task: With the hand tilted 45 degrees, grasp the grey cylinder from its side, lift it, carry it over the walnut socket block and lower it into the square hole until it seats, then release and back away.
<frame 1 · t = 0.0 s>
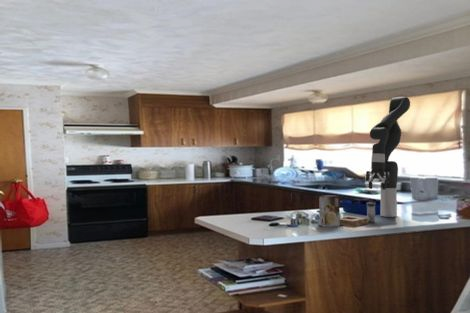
hand: (377, 189, 268), 17 cm above the countertop, tool pointing down, fingers open, 8 cm apart
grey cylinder: (371, 222, 255), on the countertop
coffee box: (329, 226, 245), on the countertop
socket: (349, 223, 251), on the countertop
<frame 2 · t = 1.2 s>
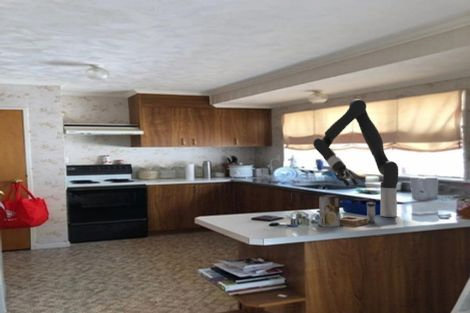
hand: (353, 185, 263), 20 cm above the countertop, tool tilted 45°, fingers open, 8 cm apart
nothing on the countertop moved.
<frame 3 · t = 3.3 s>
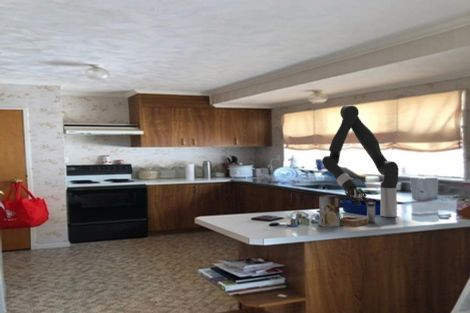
hand: (363, 204, 258), 10 cm above the countertop, tool tilted 45°, fingers open, 8 cm apart
nothing on the countertop moved.
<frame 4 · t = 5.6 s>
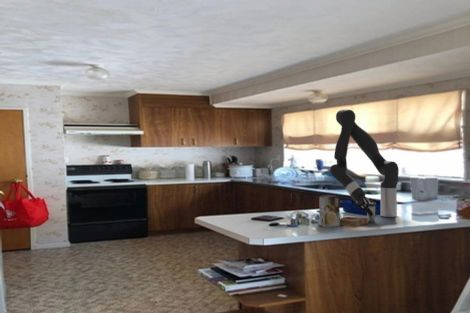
hand: (374, 214, 253), 5 cm above the countertop, tool tilted 45°, fingers closed on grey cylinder, 4 cm apart
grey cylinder: (371, 222, 255), on the countertop, touching gripper
everything else where it was.
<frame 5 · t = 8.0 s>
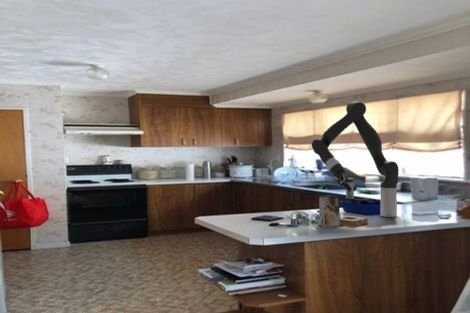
hand: (352, 190, 250), 18 cm above the countertop, tool tilted 45°, fingers closed on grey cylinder, 4 cm apart
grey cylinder: (349, 198, 251), point 14 cm above the countertop, touching gripper
everything else where it was.
when the fingers open (5 cm above the countertop, at t = 10.4 s): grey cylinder stays where it is, resting in socket.
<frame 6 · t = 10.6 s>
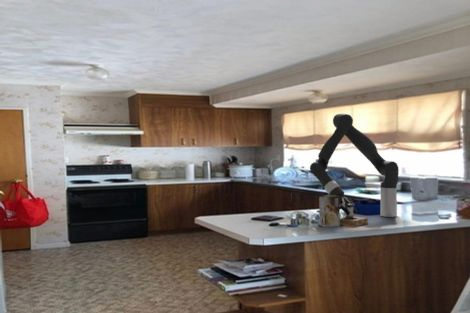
hand: (352, 213, 250), 6 cm above the countertop, tool tilted 45°, fingers open, 6 cm apart
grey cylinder: (349, 223, 251), resting in socket
everything else where it was.
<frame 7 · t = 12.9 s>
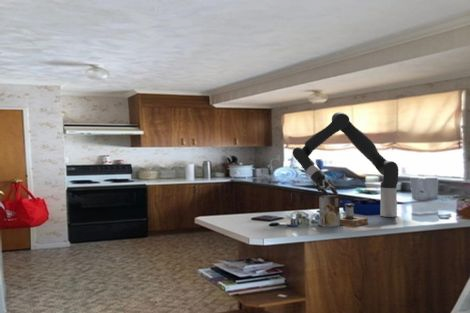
hand: (332, 195, 260), 15 cm above the countertop, tool tilted 45°, fingers open, 8 cm apart
nothing on the countertop moved.
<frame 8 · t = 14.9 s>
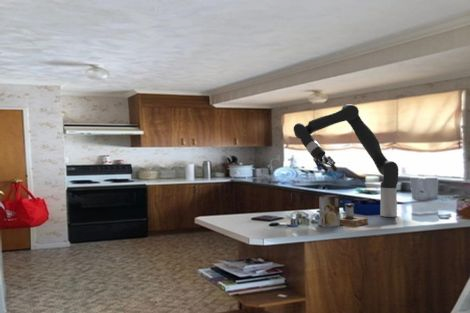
hand: (331, 170, 259), 29 cm above the countertop, tool tilted 45°, fingers open, 8 cm apart
nothing on the countertop moved.
at the end: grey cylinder 0.1 cm off-centre on the socket, point 0.0 cm above the socket's base; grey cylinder tilted 0°; the gripper is holding nothing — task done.
